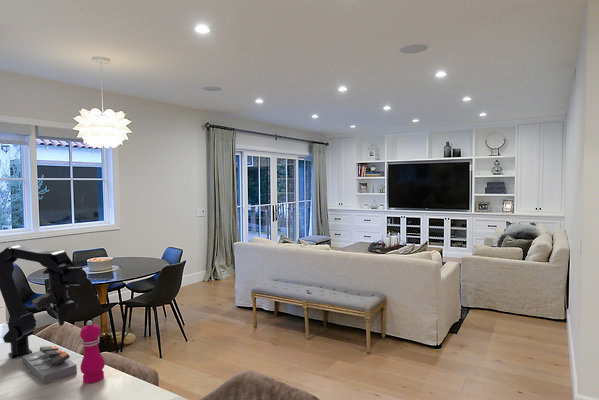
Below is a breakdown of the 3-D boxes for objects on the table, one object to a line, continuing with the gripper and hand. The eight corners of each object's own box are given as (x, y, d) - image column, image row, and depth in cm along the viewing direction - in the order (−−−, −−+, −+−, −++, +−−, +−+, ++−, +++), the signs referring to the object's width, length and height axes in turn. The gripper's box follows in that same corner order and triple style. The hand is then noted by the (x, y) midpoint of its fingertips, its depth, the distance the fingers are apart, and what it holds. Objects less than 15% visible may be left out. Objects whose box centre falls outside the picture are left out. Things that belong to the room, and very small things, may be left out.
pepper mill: (95, 385, 130) (91, 324, 129) (76, 383, 132) (71, 324, 131) (110, 374, 137) (106, 317, 136) (91, 372, 139) (87, 316, 138)
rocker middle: (44, 357, 144) (45, 351, 144) (59, 355, 148) (60, 349, 148) (48, 360, 141) (49, 354, 142) (63, 358, 145) (64, 352, 145)
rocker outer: (51, 365, 140) (49, 359, 140) (66, 356, 144) (64, 351, 143) (55, 368, 138) (53, 363, 137) (70, 359, 141) (68, 354, 141)
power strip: (22, 364, 148) (22, 355, 147) (53, 354, 155) (52, 346, 155) (44, 384, 132) (43, 375, 131) (76, 373, 139) (76, 363, 139)
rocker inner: (39, 352, 148) (40, 346, 148) (53, 351, 152) (55, 345, 152) (42, 355, 145) (43, 349, 146) (57, 354, 149) (58, 348, 149)
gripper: (25, 285, 152) (29, 326, 153) (41, 294, 139) (45, 338, 140) (58, 279, 160) (61, 317, 161) (76, 286, 148) (79, 328, 149)
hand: (61, 325), depth 152 cm, fingers closed
